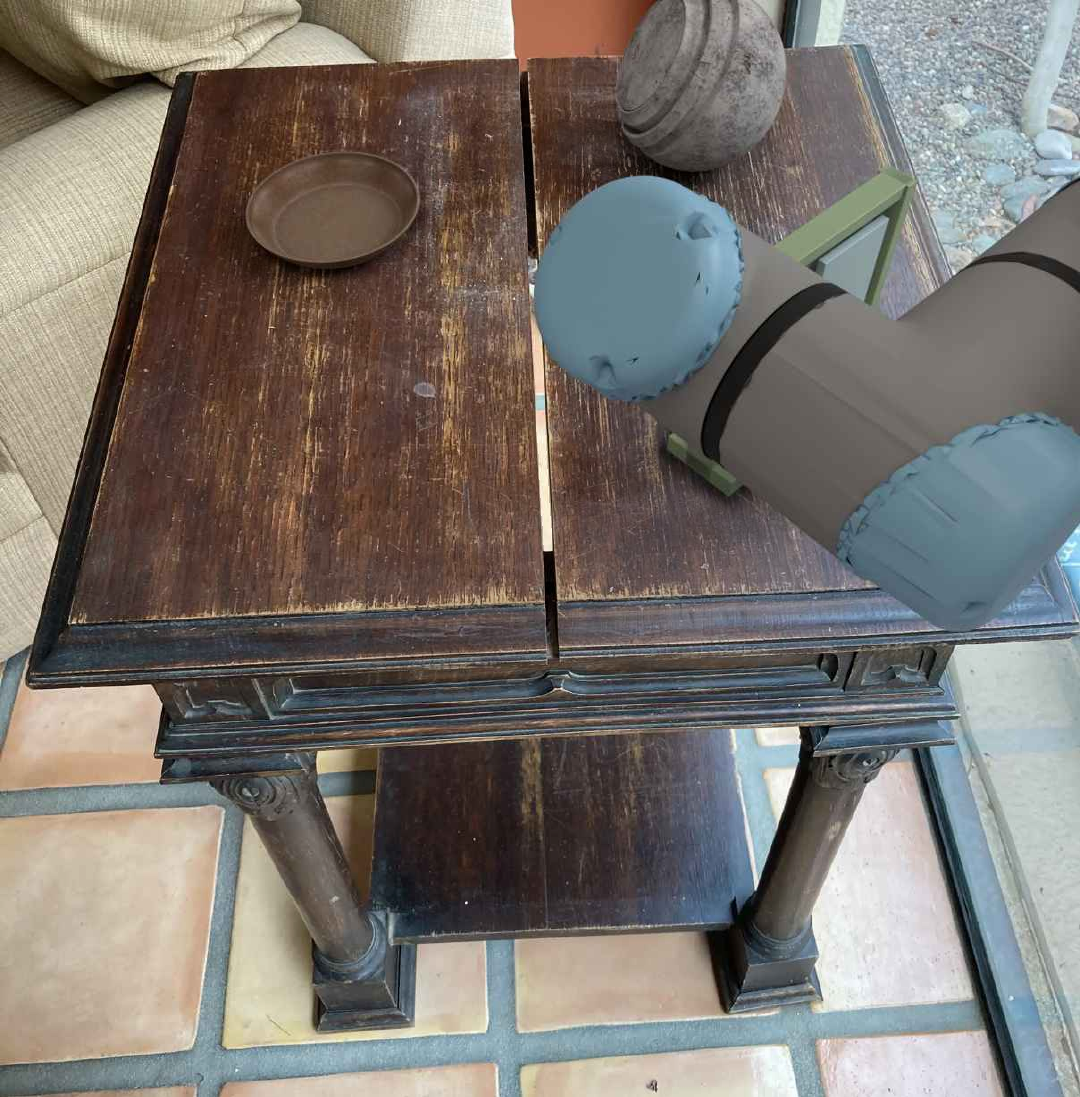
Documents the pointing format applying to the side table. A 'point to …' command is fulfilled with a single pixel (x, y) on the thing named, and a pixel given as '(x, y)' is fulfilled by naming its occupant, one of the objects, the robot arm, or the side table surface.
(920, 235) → the side table surface
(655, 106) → the decorative orb
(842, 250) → the window pane
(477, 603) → the side table surface
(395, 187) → the saucer
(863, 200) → the window frame
